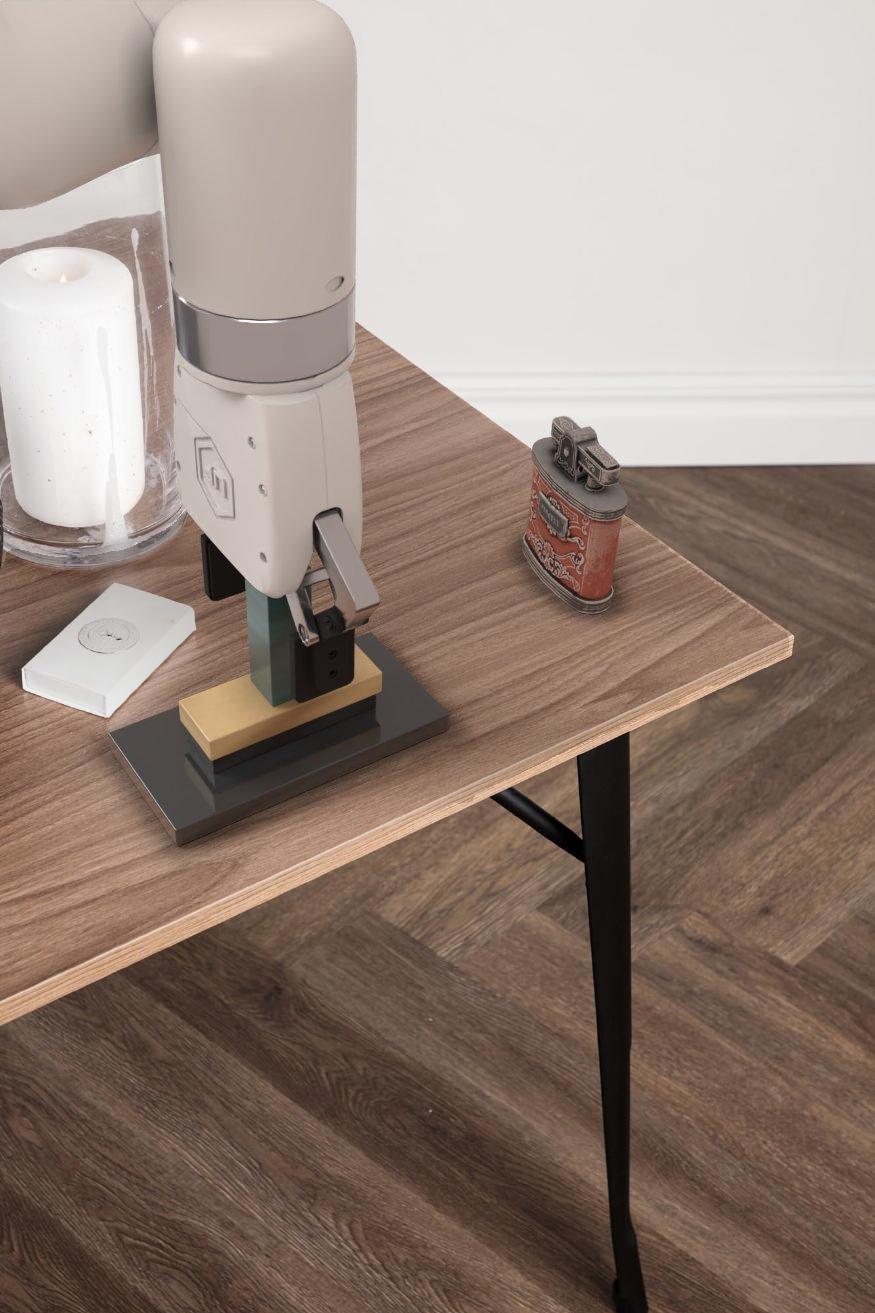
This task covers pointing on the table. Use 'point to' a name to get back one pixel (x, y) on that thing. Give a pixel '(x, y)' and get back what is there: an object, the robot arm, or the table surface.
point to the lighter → (574, 516)
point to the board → (271, 755)
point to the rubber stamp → (269, 694)
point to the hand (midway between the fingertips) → (277, 637)
